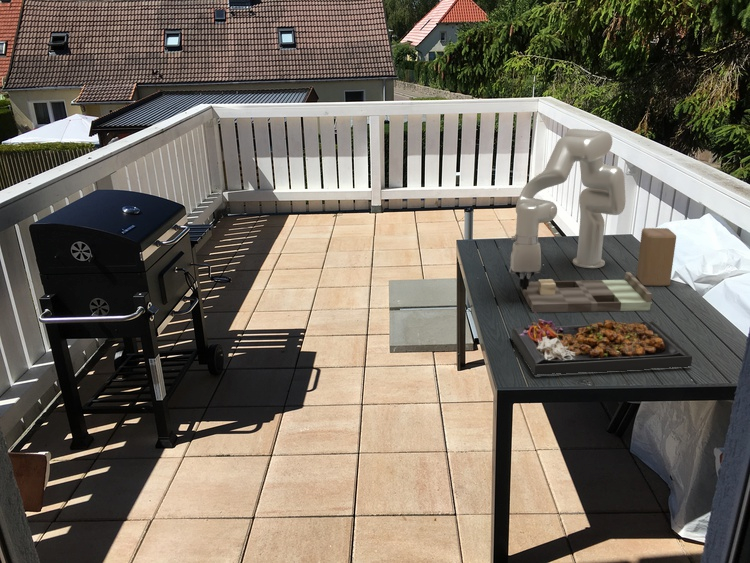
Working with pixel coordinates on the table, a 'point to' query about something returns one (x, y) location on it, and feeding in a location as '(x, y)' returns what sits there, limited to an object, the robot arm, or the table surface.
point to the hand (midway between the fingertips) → (523, 288)
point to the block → (656, 256)
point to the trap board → (590, 296)
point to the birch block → (546, 287)
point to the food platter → (598, 347)
